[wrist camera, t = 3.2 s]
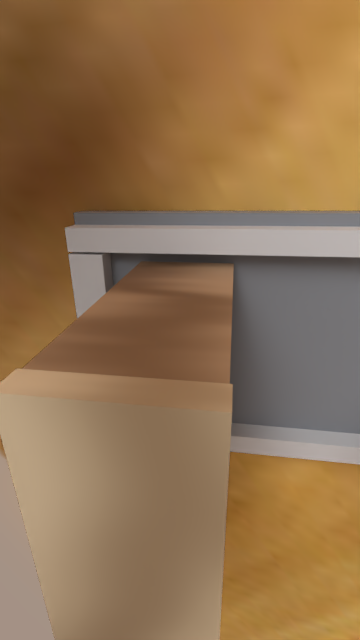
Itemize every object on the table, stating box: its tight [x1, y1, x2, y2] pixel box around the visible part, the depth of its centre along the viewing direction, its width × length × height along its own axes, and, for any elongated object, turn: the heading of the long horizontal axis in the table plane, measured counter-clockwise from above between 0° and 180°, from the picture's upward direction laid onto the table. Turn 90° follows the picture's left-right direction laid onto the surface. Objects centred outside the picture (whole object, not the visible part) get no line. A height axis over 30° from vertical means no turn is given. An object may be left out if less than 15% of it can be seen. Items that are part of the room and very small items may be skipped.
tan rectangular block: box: [0, 261, 234, 640], centre depth 12 cm, size 4×8×10 cm, turn 1°
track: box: [65, 211, 360, 464], centre depth 16 cm, size 22×12×2 cm, turn 91°
